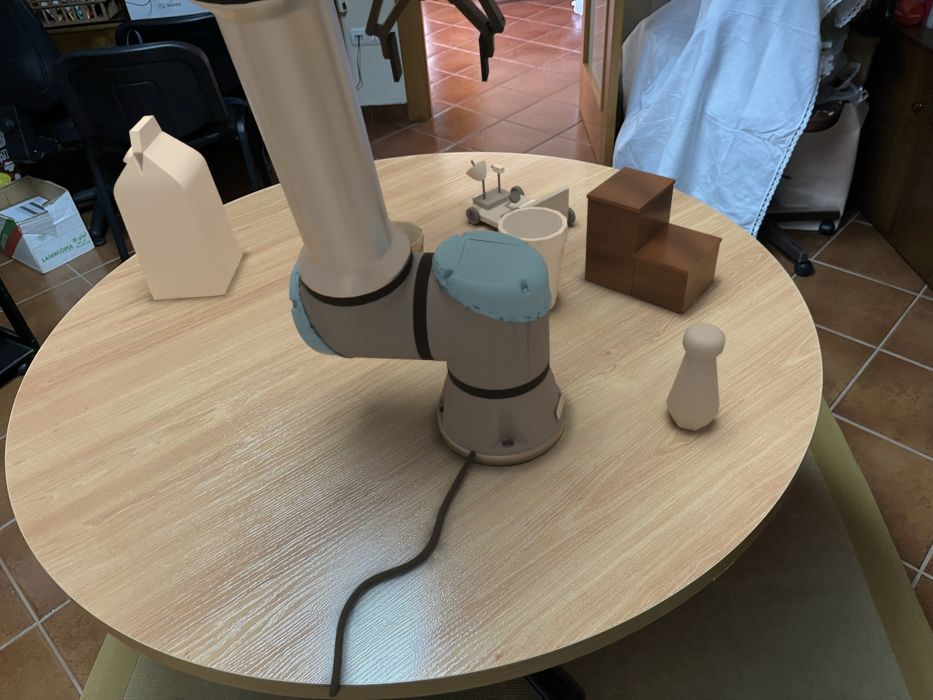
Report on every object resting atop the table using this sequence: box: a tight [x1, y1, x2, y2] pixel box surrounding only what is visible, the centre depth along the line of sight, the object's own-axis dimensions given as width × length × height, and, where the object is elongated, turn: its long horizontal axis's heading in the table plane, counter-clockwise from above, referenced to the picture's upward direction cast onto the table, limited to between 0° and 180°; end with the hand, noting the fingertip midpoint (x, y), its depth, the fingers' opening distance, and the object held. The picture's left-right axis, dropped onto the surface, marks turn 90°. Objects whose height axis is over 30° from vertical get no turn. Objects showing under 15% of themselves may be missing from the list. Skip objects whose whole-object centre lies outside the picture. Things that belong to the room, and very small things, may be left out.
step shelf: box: [584, 166, 723, 315], centre depth 99 cm, size 10×16×14 cm, turn 50°
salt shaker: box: [666, 322, 726, 432], centre depth 77 cm, size 6×6×13 cm
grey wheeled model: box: [465, 159, 577, 230], centre depth 118 cm, size 18×10×12 cm
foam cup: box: [497, 207, 568, 310], centre depth 98 cm, size 10×9×13 cm
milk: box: [113, 115, 244, 301], centre depth 106 cm, size 12×12×26 cm
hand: (441, 77), depth 105 cm, fingers open, 13 cm apart
